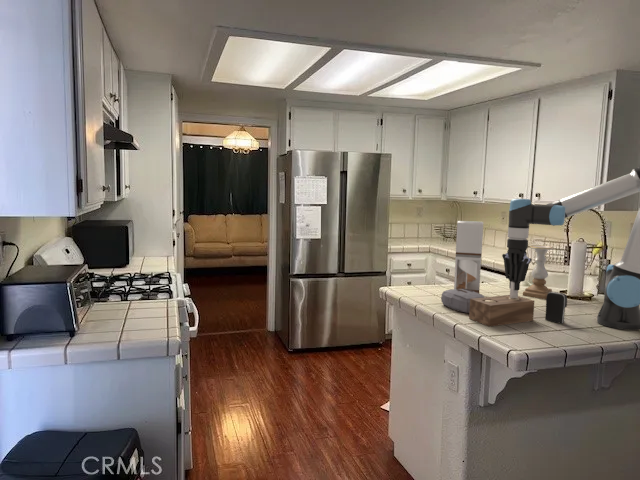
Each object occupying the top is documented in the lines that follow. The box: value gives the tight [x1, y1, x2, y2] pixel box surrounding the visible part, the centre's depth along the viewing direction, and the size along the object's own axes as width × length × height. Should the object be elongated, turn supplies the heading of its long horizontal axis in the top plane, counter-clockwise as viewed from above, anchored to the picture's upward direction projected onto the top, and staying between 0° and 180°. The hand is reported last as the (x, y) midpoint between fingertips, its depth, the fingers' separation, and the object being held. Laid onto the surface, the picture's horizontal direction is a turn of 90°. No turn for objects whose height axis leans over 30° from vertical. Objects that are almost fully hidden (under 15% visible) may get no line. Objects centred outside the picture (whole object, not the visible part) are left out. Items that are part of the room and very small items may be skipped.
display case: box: [453, 220, 484, 294], centre depth 227 cm, size 11×11×35 cm
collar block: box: [468, 294, 535, 327], centre depth 188 cm, size 11×22×8 cm, turn 113°
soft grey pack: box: [440, 288, 485, 314], centre depth 204 cm, size 15×8×20 cm
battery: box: [544, 291, 568, 324], centre depth 188 cm, size 7×4×11 cm, turn 37°
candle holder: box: [522, 244, 554, 300], centre depth 230 cm, size 11×11×24 cm
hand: (513, 297), depth 190 cm, fingers closed
